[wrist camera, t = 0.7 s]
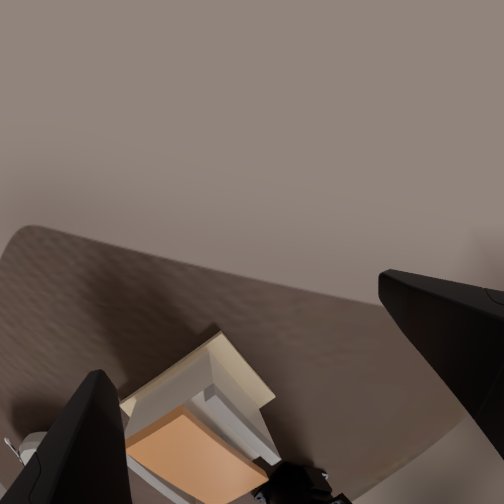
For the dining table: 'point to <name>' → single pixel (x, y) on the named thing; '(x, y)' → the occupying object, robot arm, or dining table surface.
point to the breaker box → (205, 405)
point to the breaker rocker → (194, 458)
